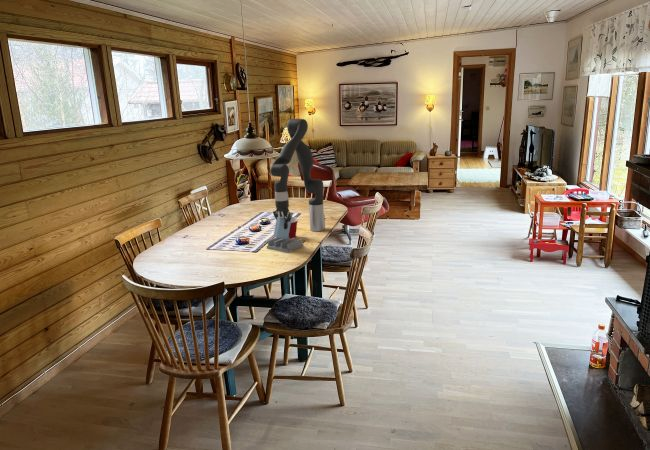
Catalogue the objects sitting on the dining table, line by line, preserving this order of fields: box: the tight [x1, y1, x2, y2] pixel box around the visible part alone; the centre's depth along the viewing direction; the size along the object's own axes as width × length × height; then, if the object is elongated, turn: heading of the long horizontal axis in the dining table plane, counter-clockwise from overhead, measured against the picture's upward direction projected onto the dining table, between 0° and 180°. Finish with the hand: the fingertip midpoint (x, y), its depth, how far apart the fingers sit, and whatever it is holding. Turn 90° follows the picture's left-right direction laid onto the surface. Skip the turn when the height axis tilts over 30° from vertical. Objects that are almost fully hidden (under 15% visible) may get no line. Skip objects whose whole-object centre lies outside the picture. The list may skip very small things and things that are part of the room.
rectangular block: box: [272, 217, 291, 240], centre depth 271 cm, size 10×2×11 cm, turn 144°
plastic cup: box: [285, 216, 299, 239], centre depth 292 cm, size 11×11×12 cm
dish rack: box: [266, 237, 304, 253], centre depth 274 cm, size 14×16×4 cm
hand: (283, 228), depth 272 cm, fingers closed on rectangular block, 2 cm apart
